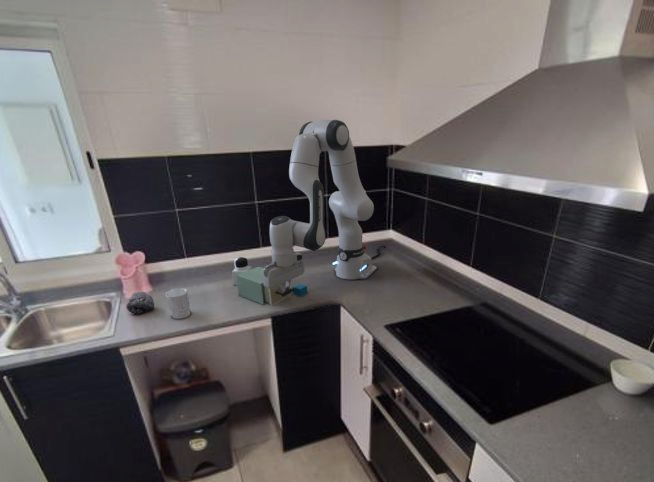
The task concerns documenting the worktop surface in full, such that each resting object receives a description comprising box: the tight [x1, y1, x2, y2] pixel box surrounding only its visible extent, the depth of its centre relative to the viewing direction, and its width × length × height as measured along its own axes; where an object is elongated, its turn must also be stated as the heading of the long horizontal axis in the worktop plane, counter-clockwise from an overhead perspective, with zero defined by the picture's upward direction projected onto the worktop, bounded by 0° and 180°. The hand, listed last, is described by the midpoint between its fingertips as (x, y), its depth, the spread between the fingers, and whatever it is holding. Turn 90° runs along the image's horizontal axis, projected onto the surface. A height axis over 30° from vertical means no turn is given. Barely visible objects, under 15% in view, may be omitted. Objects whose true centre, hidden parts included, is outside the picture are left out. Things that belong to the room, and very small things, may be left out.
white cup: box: [165, 287, 191, 320], centre depth 150 cm, size 8×8×10 cm
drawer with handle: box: [262, 282, 295, 306], centre depth 162 cm, size 19×11×8 cm, turn 53°
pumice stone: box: [125, 291, 156, 315], centre depth 155 cm, size 10×8×10 cm
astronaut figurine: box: [231, 256, 253, 286], centre depth 177 cm, size 7×7×12 cm
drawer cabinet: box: [236, 266, 269, 305], centre depth 166 cm, size 16×13×10 cm
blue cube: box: [292, 283, 308, 297], centre depth 168 cm, size 4×4×4 cm
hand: (285, 290), depth 157 cm, fingers closed, pressing on drawer with handle
